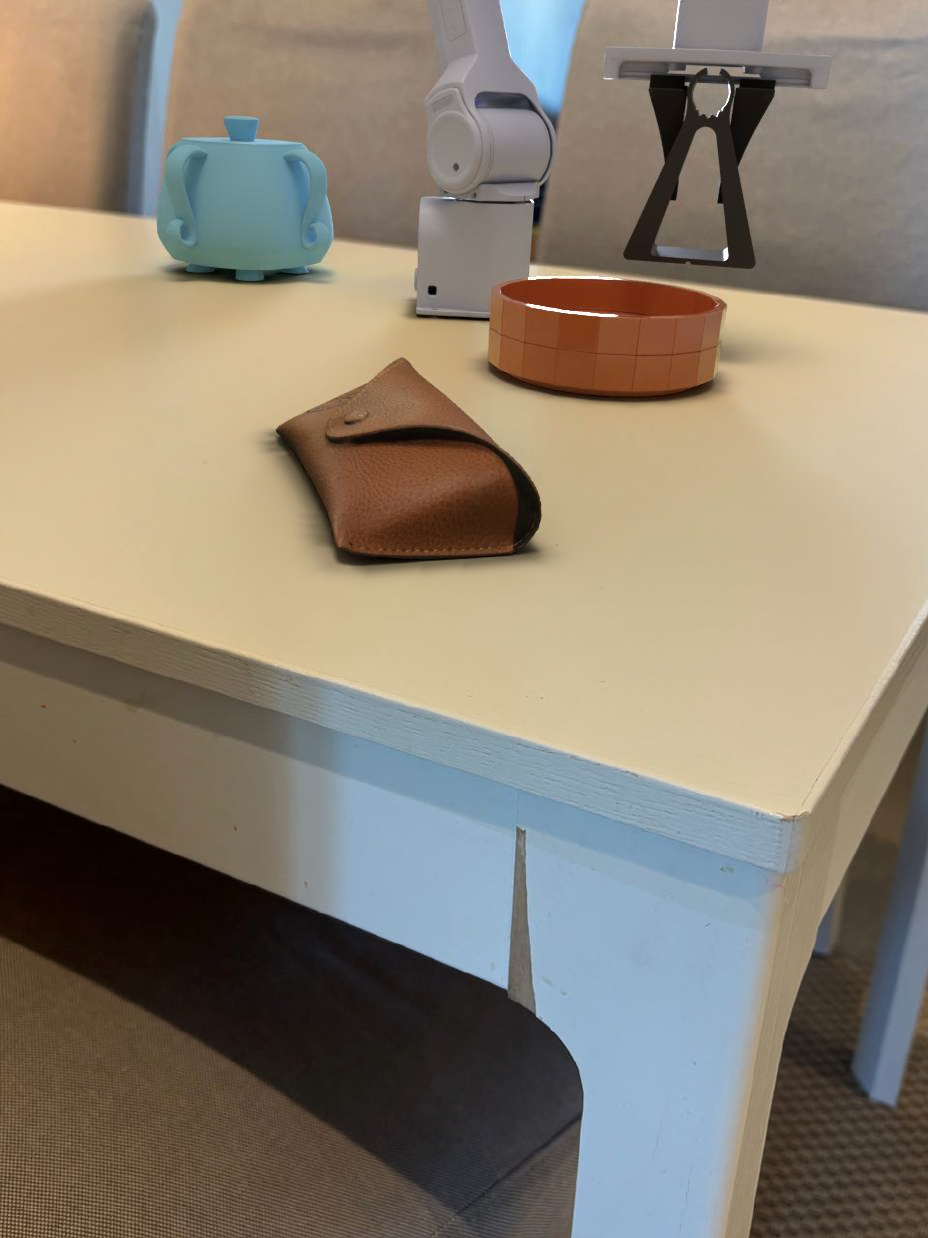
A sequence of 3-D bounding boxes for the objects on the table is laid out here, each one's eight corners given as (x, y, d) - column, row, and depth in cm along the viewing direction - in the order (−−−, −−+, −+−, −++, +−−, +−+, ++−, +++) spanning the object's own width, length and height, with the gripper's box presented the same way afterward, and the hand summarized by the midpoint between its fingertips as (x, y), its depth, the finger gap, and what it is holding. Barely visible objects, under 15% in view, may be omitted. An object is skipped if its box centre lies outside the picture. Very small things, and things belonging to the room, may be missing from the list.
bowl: (486, 394, 65) (491, 310, 63) (487, 342, 79) (491, 271, 76) (735, 406, 65) (748, 323, 63) (693, 352, 78) (703, 282, 76)
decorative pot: (334, 262, 111) (333, 118, 105) (332, 287, 97) (330, 122, 91) (174, 257, 109) (164, 110, 104) (148, 281, 95) (134, 113, 89)
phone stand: (752, 258, 78) (781, 73, 72) (754, 269, 72) (786, 70, 67) (628, 248, 79) (648, 67, 74) (622, 259, 74) (642, 64, 68)
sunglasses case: (263, 423, 55) (326, 309, 54) (375, 482, 59) (438, 376, 57) (337, 557, 40) (428, 403, 39) (483, 625, 44) (572, 487, 42)
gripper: (838, -18, 70) (800, 202, 76) (618, -24, 73) (598, 189, 79) (850, -29, 64) (807, 211, 70) (609, -36, 66) (588, 197, 72)
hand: (696, 201), depth 74 cm, fingers closed on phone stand, 3 cm apart
